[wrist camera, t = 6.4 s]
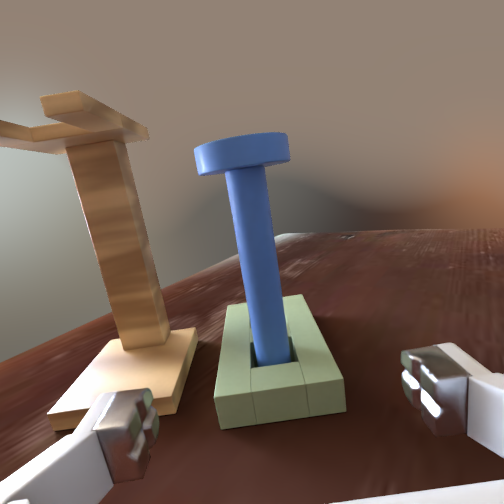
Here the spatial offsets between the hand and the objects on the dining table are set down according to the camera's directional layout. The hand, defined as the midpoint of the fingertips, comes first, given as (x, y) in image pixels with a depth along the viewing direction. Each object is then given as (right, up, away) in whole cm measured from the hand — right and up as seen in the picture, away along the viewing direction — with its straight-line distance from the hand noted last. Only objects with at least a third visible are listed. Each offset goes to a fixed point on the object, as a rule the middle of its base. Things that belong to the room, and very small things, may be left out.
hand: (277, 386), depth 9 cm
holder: (+1, -5, +16) cm, 17 cm away
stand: (-11, -7, +16) cm, 21 cm away
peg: (+1, -6, +13) cm, 15 cm away
